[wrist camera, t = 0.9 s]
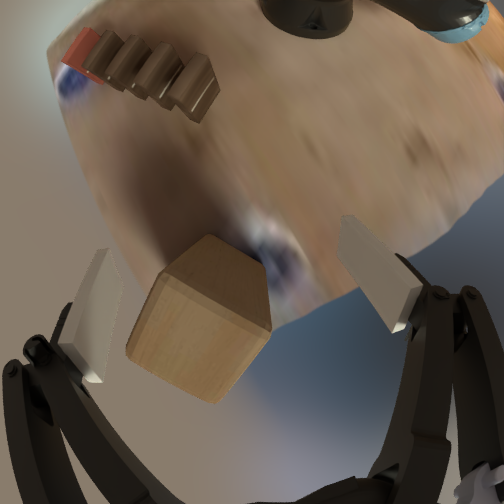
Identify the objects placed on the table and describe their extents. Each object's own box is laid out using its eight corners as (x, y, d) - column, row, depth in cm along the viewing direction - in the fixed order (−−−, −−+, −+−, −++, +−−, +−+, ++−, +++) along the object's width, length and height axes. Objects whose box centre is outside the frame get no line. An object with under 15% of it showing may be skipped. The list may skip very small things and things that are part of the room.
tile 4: (142, 62, 33) (113, 31, 22) (123, 92, 34) (88, 68, 23) (135, 59, 33) (105, 30, 22) (116, 89, 34) (80, 66, 23)
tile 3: (166, 69, 33) (140, 36, 22) (145, 100, 34) (112, 75, 24) (157, 66, 33) (130, 34, 22) (137, 97, 34) (103, 72, 23)
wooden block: (176, 286, 40) (118, 357, 21) (207, 230, 38) (159, 265, 19) (233, 319, 41) (216, 411, 21) (267, 266, 39) (278, 333, 20)
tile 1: (220, 90, 34) (208, 56, 23) (199, 123, 35) (179, 99, 24) (210, 86, 34) (195, 52, 23) (189, 119, 35) (166, 94, 24)
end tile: (121, 56, 32) (90, 28, 22) (102, 84, 33) (66, 62, 23) (115, 54, 32) (84, 27, 21) (96, 82, 33) (60, 61, 23)
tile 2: (192, 78, 34) (171, 44, 23) (171, 111, 35) (142, 85, 24) (182, 75, 33) (160, 41, 23) (162, 107, 35) (132, 81, 24)
